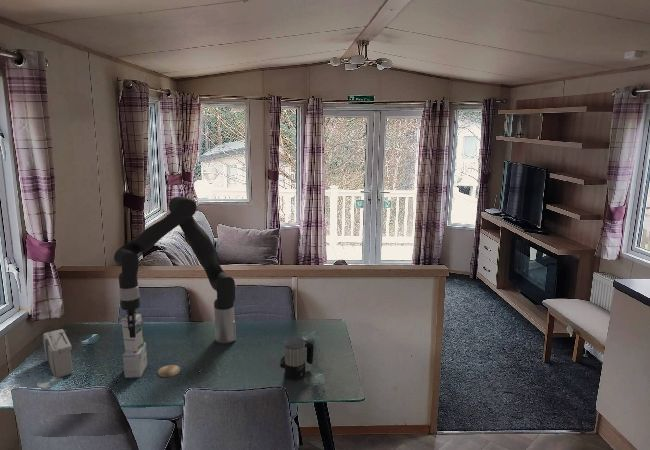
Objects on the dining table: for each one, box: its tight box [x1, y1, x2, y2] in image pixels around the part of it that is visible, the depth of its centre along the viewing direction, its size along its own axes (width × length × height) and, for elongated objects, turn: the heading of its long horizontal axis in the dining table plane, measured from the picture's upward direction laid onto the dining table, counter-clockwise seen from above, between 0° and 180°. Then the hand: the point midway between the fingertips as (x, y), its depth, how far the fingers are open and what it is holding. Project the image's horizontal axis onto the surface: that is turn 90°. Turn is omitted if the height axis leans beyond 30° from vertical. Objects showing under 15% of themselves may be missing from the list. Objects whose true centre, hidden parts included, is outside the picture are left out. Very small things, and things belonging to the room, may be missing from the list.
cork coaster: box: [157, 364, 181, 378], centre depth 206 cm, size 9×9×1 cm
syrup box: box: [121, 313, 145, 351], centre depth 202 cm, size 6×6×14 cm
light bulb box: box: [122, 341, 148, 379], centre depth 205 cm, size 11×7×11 cm, turn 5°
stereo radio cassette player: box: [42, 328, 74, 379], centre depth 206 cm, size 21×8×20 cm, turn 37°
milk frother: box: [280, 337, 315, 381], centre depth 206 cm, size 14×16×15 cm
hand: (133, 332), depth 202 cm, fingers open, 8 cm apart
